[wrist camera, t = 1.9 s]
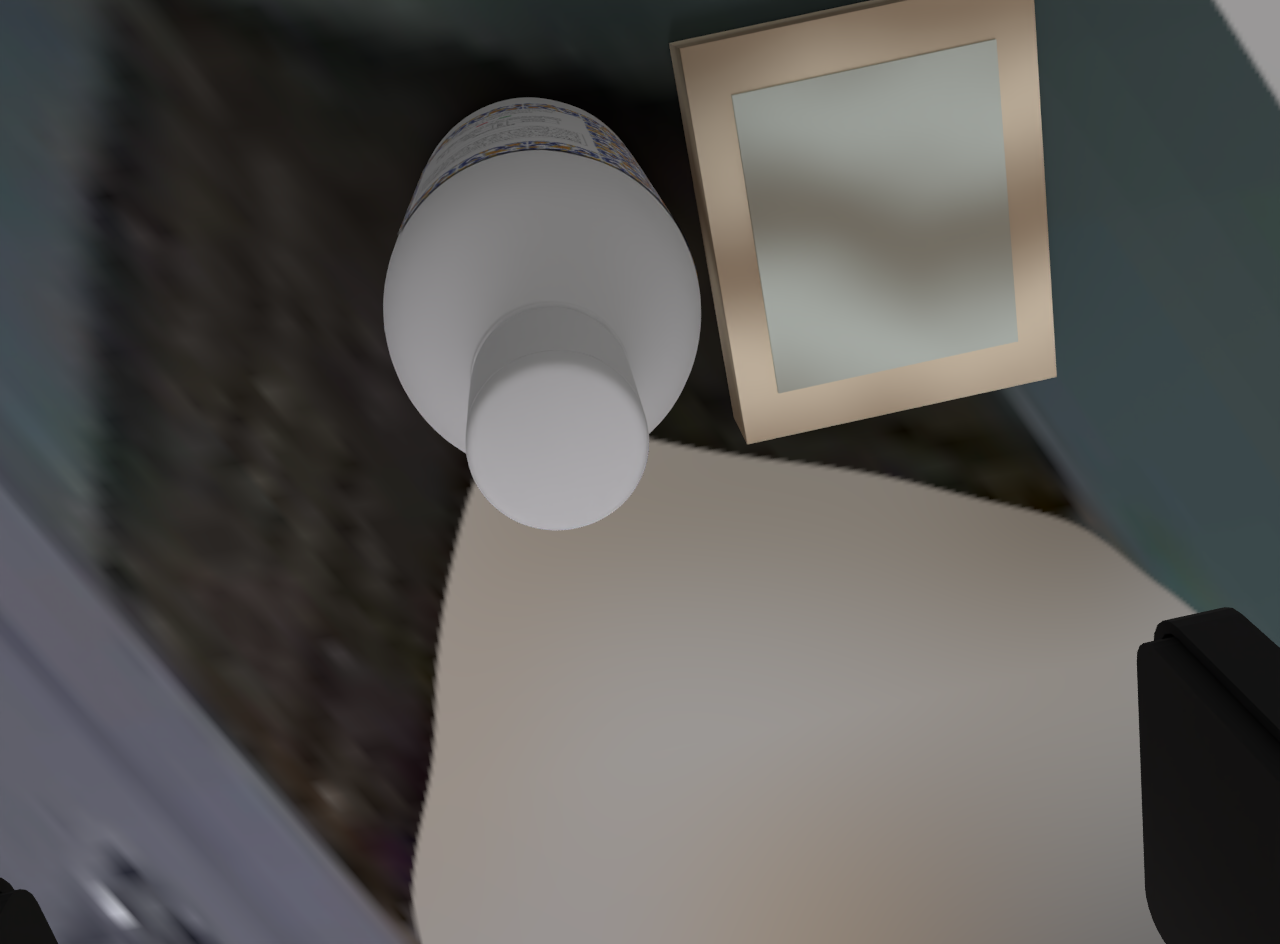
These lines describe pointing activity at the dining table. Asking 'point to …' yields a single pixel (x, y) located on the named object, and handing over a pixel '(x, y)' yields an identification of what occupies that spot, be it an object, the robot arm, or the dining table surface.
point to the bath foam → (542, 309)
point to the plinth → (871, 207)
